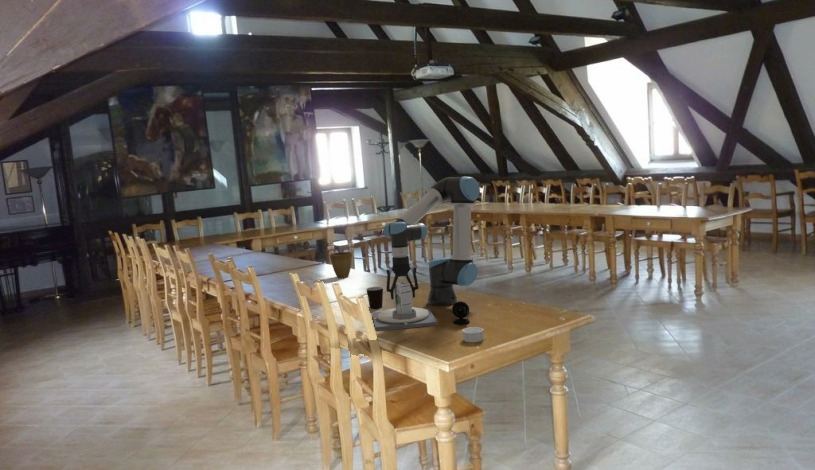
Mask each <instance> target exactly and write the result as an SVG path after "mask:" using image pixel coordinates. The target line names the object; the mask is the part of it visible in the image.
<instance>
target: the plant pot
mask: <svg viewBox="0 0 815 470" xmlns="http://www.w3.org/2000/svg"><path fill="white" fill-rule="evenodd" d="M329 258H330V263H331V266H332V268H333V272H334V274H335V276H336V278H337V277H338V278H337V279H347V278H349V276H350V272H351V269H352V268H351V267H352V260H353V252H351V251H340V252H333V253H330V254H329ZM346 277H347V278H346Z"/></svg>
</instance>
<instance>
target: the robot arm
mask: <svg viewBox="0 0 815 470" xmlns="http://www.w3.org/2000/svg"><path fill="white" fill-rule="evenodd" d="M480 192H481V191H480V184H479V183H478V181H477V179H475V178H474V177H472V176H467V175H466V176H465V175H464V176H454V177H453V176H448V177H445V178H442V179H441V180H439V181H437V182H436V183H435V184H433V185H432V186H430V188H428V189H427V190H426V194H424V195H423V196H422V197H421V198H420V199H419V200H418V201H417V202H415V203H414V204H413V205H412V206H411V207H410V208H409V209H408V210H406V211H405V212H404V213H403V214H401V216H399V217H398V218H397V219H396V220H395V221H394V222H388V223H386V224H385V225H384V227H383V234H384V236H385V238H386V239H390V243H391V245H390V246H391V256H392V258H391V259H392V267H391V268H390V269H388V268H387V269H386V270H385V271H386V275H387V276H386V277H387V278H386V287H385V288H386V292H387V293H390V299H391V300H392V301H393V307H394V308H396V300H395V291H394V288H395V285H396V283H398V282H397V281H398V280H399V279H398V278H400V277H405V278H406V280H407V283H410V290H411V304H412V306H414V298H415V297H416V290H419V283H418V278H417V268H416V267H411V265H410V257H409V243H410V242H413V241H421V240H424V239H425V238H426V237H427V235H428V228H427V226H426V225H425V224H424V223H422V222H419V221H421V220H422V219H423V218H424V217H425V216H426V215H427V214H428V213H430V211H432V210H433V209H434V208H435V207H436V206H440V205H441V204H442V203H444V202H446V201H450V204H451V205H452V207H453V225H452V226H453V230H452V232H453V233H452V234H453V237H452V255H451V256H450V257H449V256H448V257H441V258H435V259H431V260H430V261H429V262H428V264H429V265H428V272H429V285H430V287H429V288H430V289H429V292H428V297H427V304H428V305H430V306H436V307H437V306H440V307H441V306H443V307H444V306H449V305H454V304H455V303H456V302H458V297H457V294H456V291H455V289H454V285H456V286H460V287H463V286H464V287H465V286H466V287H469V286H471V285H472V284H474V283H475V281H476V279H477V277H478V273H479V272H478V271H479V270H478V267H477V265H476V264H475V263H474V259H473V257H472V255H471V231H472V230H471V228H472V227H471V226H472V225H471V224H472V207H473V206H474V205H475V201H476V200H477V199H479V196H480ZM418 222H419V223H418ZM410 271H411V273H412V277H413V282H414V284H413V283H412V280H411V279H410V276H409V273H410ZM392 272H393V273H394V274H395V275H394V277H393V280H392V283H391V274H392ZM390 285H391V286H390Z"/></svg>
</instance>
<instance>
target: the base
mask: <svg viewBox="0 0 815 470" xmlns="http://www.w3.org/2000/svg"><path fill="white" fill-rule="evenodd" d="M422 308H423V309H426V310H428V312H429V316H428V317H427V318H425V319H423V320H420V321H416V322H409V323H386V322H382V321H380V320H378V313H380V312H381V311H375V312H372V321H373V326H374V325H375V327H374V330H375V329H376V331H386V330H387V331H388V330H396V329H397V330H399V329H409V328H420V327H422V328H423V327H430V326H431V327H432V326H433V327H434V326H438V321H437V320H436V318H435V316H434V314H433V312H432V311H431V309H430V307H426V308H425V307H422Z"/></svg>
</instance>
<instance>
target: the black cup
mask: <svg viewBox="0 0 815 470" xmlns="http://www.w3.org/2000/svg"><path fill="white" fill-rule="evenodd" d="M366 294H367V299H368V305H369V309H371V310H377V309H378V310H379V309H382V308H383V300H384V297H383V296H384V287H383V286H372V287H370V286H369V287H368V288H366Z"/></svg>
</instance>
